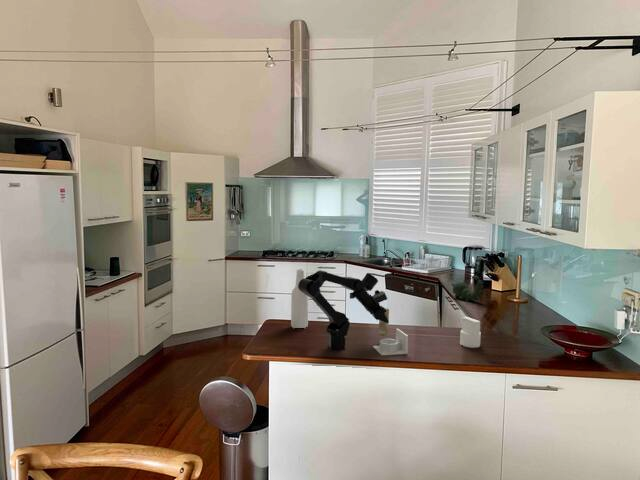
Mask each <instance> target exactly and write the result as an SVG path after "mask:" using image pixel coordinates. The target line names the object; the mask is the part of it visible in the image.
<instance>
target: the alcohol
mask: <svg viewBox="0 0 640 480" xmlns="http://www.w3.org/2000/svg"><path fill="white" fill-rule="evenodd" d="M295 273H296V278H295V287H294V288H293V289H292V290H291V295H290V296H291V297H290V298H291V301H290V302H291V303H290V308H291V309H290V326H291V328H292V329H295V328H304V329H307V328H308V326H309V296H307V295H305V294H304V293H303V292H301V291H300V290H299V289H298V284H299V282H300V280H302V279H305V269H304V268H303V269H302V268H297V269H296V272H295ZM306 327H307V328H306Z"/></svg>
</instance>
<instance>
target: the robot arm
mask: <svg viewBox="0 0 640 480" xmlns="http://www.w3.org/2000/svg"><path fill="white" fill-rule="evenodd" d="M325 282H329V283H333V284H337V285H340V286H341V287H343V288H344V289H347V290H349V291H353V292H350V293H349V299H352V300H353V299H356V300H357V301H358V302H359V303H360V304H361V305H362V306H363V308H364V309H365V310H366V311H367V312H368V313H370V315H372V317H373V318H374V319H375V320H376V321H379V320H381V321H383V322H385V323H390V320H389V321H388V319H387V317H386V316H385V314H384V313H385V312H386V311H387V310H386V309H385V308H386V307H384V306H382V305H380V303H382V302H384V301H386V300H388V296H387V294H386V292H385V291H384V290H381V291H379V290H378V289H376V290H374V294H372V295H371V294H370V293H369V291H370V292H371V291H372V290H373V289H374V288H375V287H376V285H377V284H378V283H379V280H378V278H376V277H375V276H374V275H373V274H371V272H367V273H365V276H363V278H362V279H360V278H356V277H352V276H340V275H337V274H333V273H330V272H328V271H325V270H320V269H319V270H318V271H316V272H314V273H312V274H310V275H308V276H305V277H304V279H302V280H300V282H299V284H298V289H299V290H300V291H301V292H303V293H304V294H305V295H307V296H308V298H310V299H311V300H312V301H313V302H314V303H315V304H316V306H318V307H319V309H320V310H321V311H322V312H323V313H324V314H325V316H326V317H327V318H328V322H329V324H328V326H327V327H326V329H325V330H326V333H327V334H328V344H327V346H328V348H329V349H330V350H331V351H336V350H346V336H348V331H349V329H350V325H351V324H350V318H348V317H347V316H346V314H345V313H344V312H340V311H338V310H336V309H335V308H334V306H332V304H330V302H329V301H328V300H327V299H326V298H325V297H324V295H323V294H322V293H321V287H322V286H324V283H325Z"/></svg>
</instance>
